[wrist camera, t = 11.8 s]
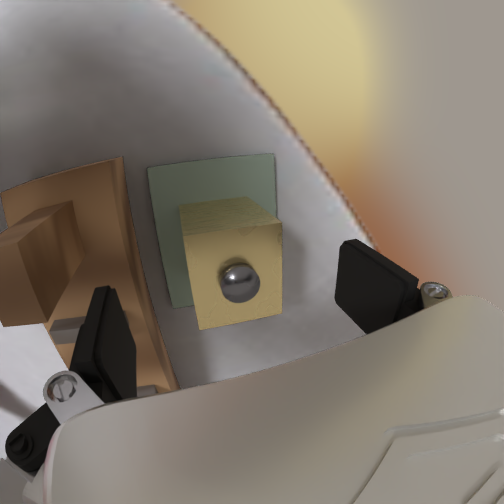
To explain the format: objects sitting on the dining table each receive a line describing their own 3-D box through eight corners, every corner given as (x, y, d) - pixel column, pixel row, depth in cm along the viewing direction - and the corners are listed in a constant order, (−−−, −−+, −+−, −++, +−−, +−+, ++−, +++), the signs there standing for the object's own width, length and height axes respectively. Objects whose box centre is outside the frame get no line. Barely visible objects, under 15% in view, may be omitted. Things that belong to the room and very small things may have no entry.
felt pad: (147, 167, 16) (147, 168, 15) (271, 153, 18) (273, 153, 17) (172, 305, 20) (173, 308, 19) (275, 286, 22) (277, 288, 21)
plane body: (29, 180, 13) (-67, 227, 5) (122, 156, 15) (64, 177, 6) (125, 416, 23) (128, 498, 14) (188, 408, 25) (206, 493, 16)
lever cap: (178, 205, 17) (184, 241, 11) (247, 196, 18) (287, 226, 12) (189, 276, 19) (201, 337, 13) (251, 265, 20) (286, 319, 14)
